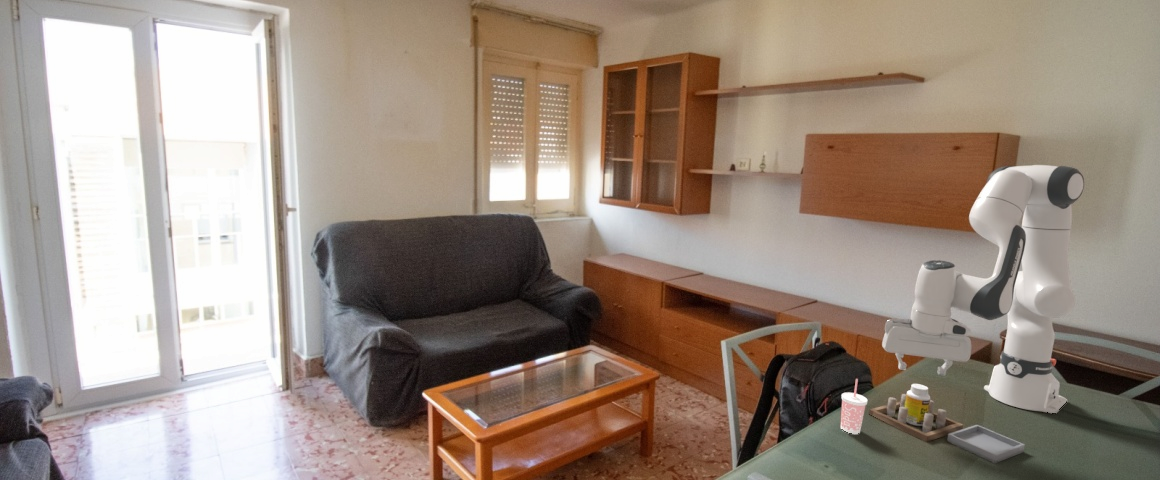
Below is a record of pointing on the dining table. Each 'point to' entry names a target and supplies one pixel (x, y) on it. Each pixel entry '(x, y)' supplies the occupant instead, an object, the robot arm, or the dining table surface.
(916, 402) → the supplement bottle
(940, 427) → the wooden peg board
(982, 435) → the tray
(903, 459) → the dining table surface
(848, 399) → the beverage cup
